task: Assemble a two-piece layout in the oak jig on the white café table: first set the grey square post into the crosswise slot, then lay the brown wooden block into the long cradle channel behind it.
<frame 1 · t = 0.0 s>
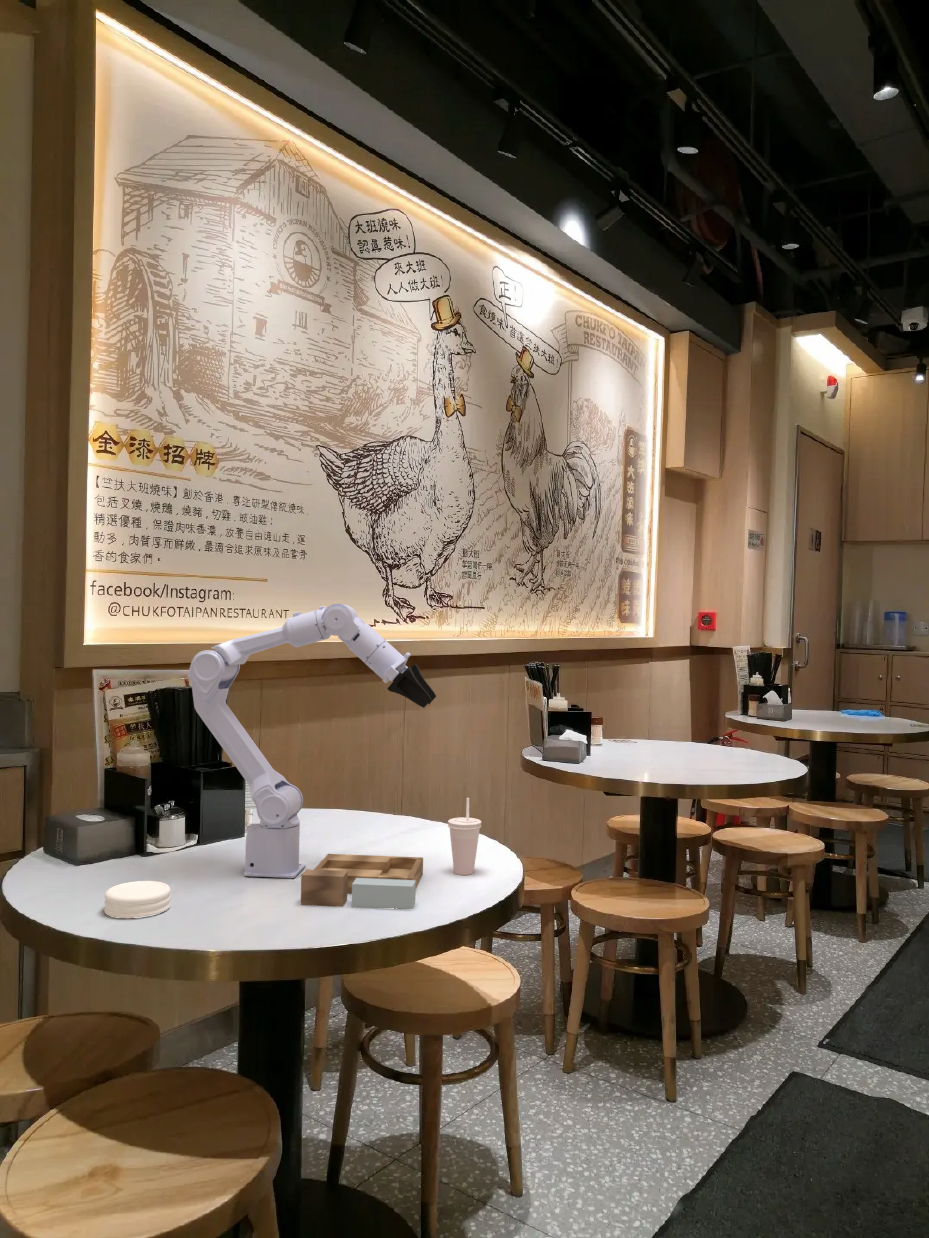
hand: (430, 701, 162), 32 cm above the table, tool tilted 50°, fingers open, 7 cm apart
brown wooden block: (324, 903, 147), on the table
grey square post: (383, 906, 146), on the table
smoothie: (463, 873, 166), on the table
jig: (368, 882, 159), on the table
coaster: (137, 911, 142), on the table
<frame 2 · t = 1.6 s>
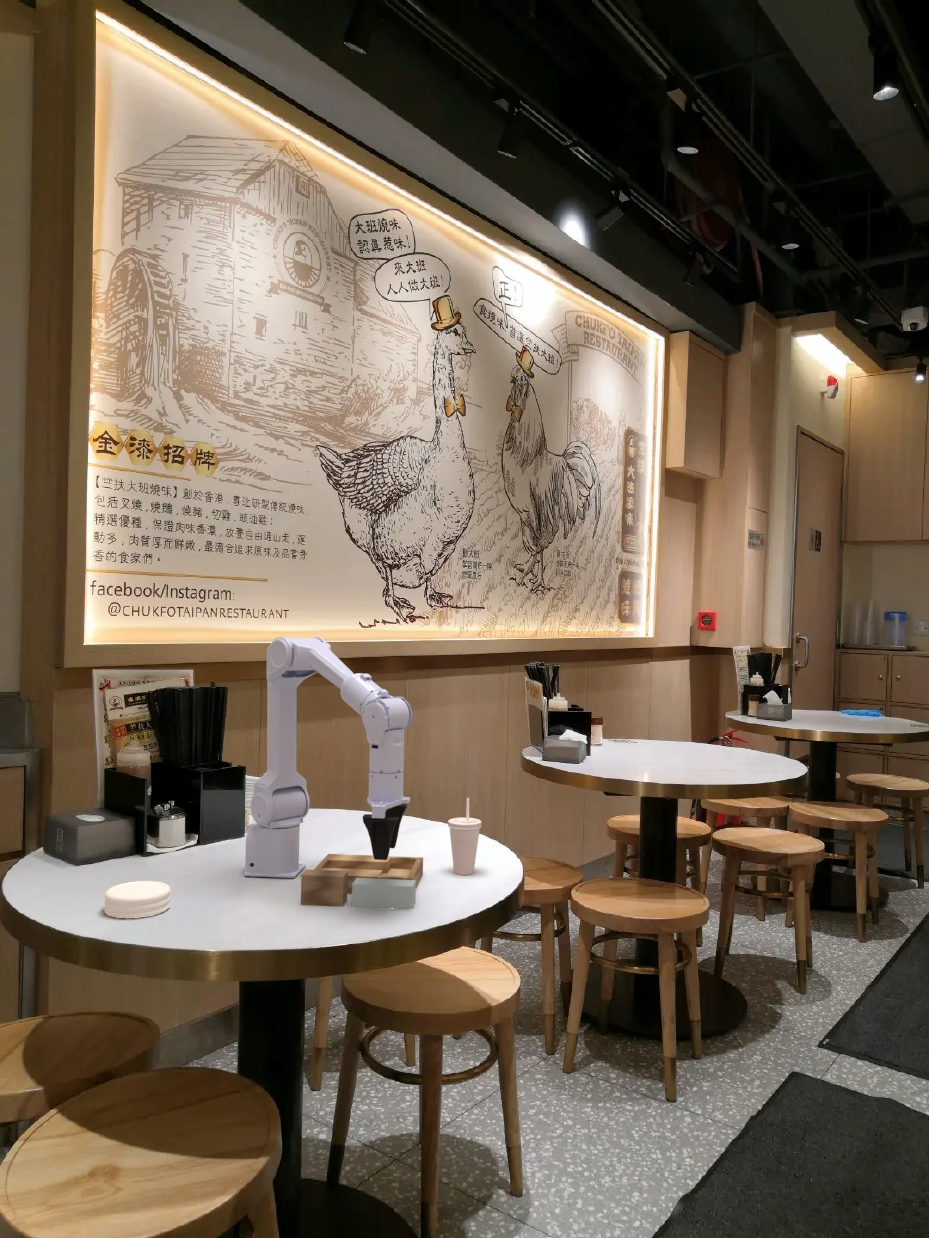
hand: (384, 853, 146), 8 cm above the table, tool pointing down, fingers open, 7 cm apart
nothing on the table moved.
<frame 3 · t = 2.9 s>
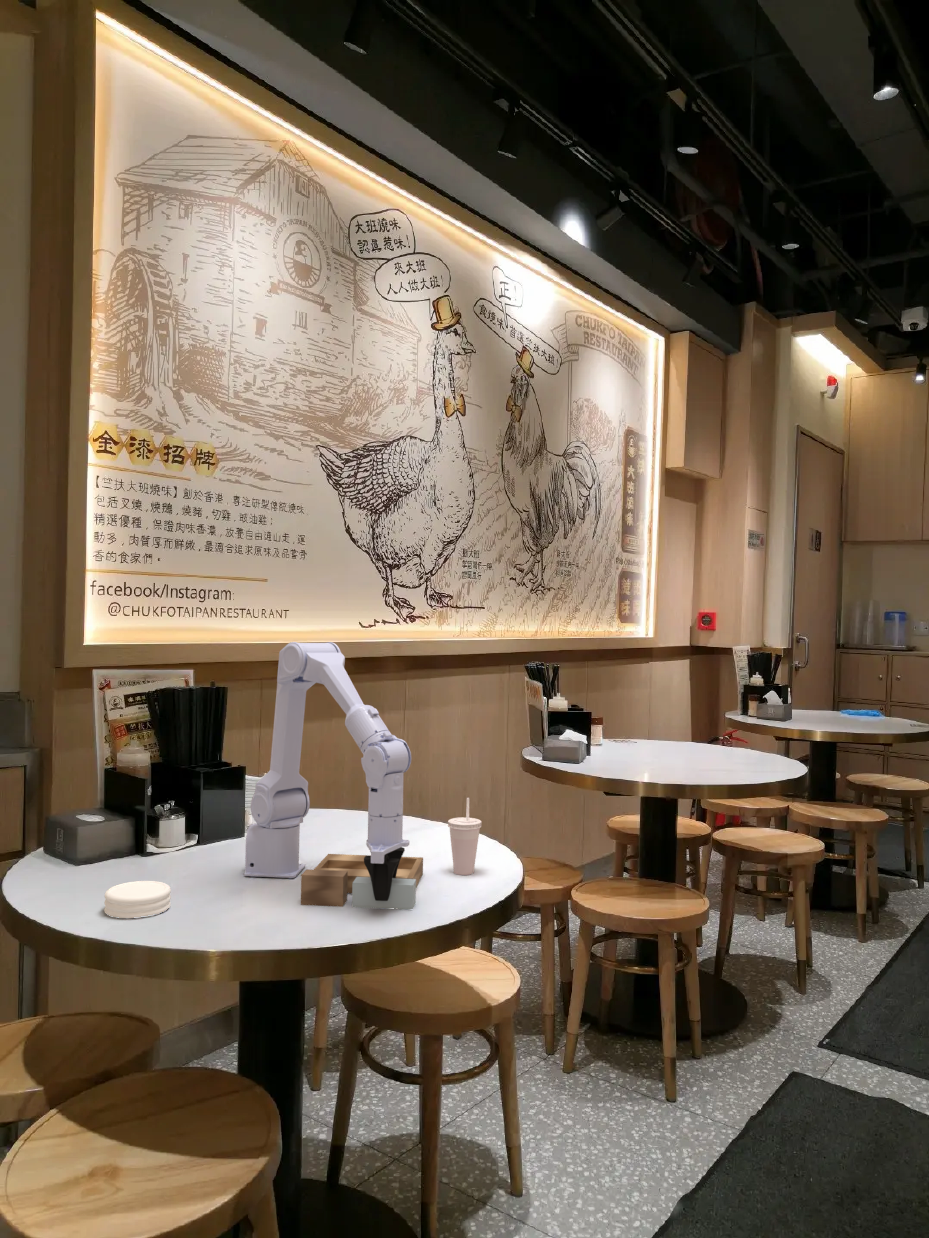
hand: (383, 896, 146), 1 cm above the table, tool pointing down, fingers closed on grey square post, 4 cm apart
grey square post: (384, 905, 146), on the table, touching gripper
everything else where it was.
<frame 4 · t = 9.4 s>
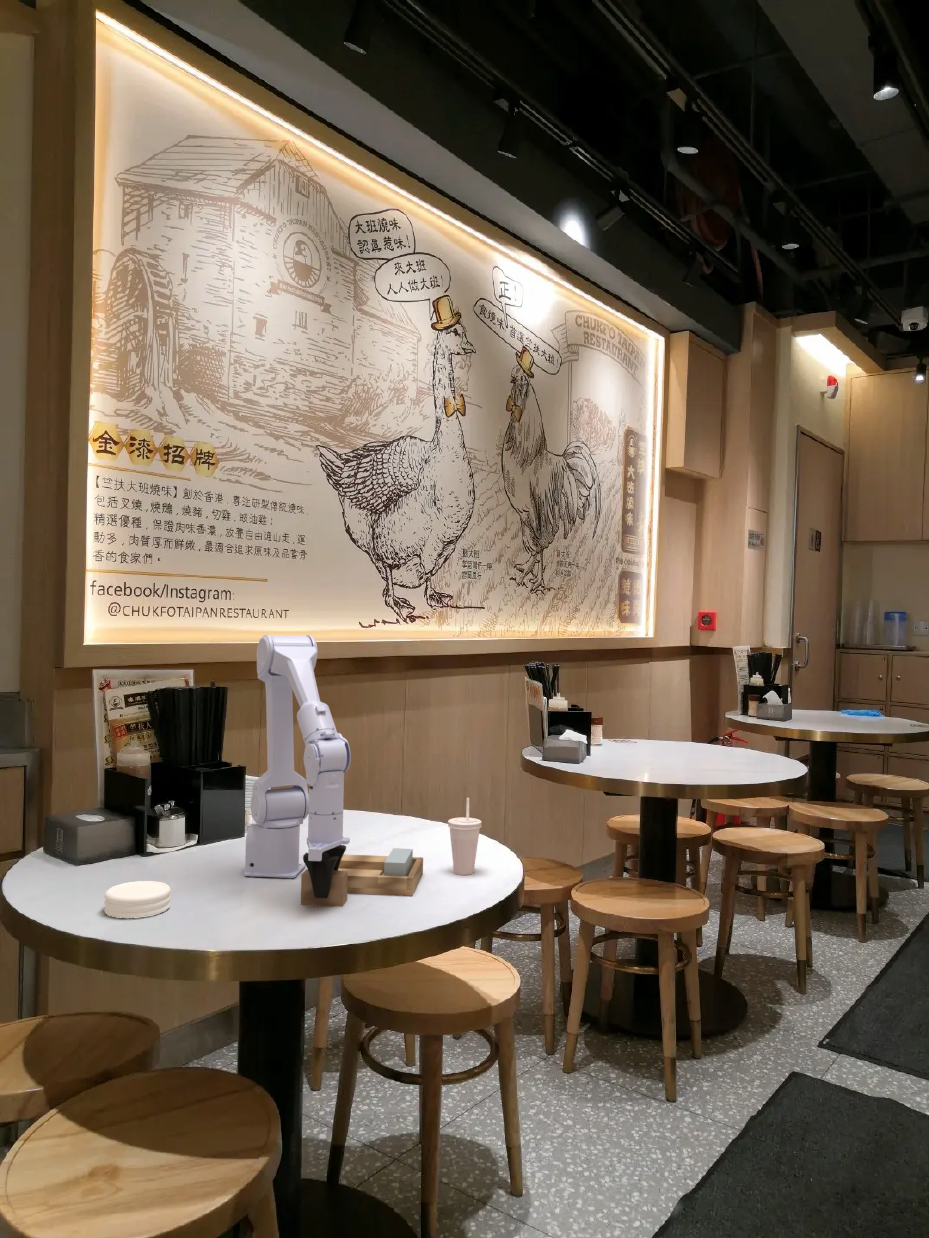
hand: (324, 893, 147), 1 cm above the table, tool pointing down, fingers closed on brown wooden block, 3 cm apart
brown wooden block: (324, 902, 147), on the table, touching gripper
grey square post: (398, 877, 158), point 1 cm above the table, touching jig
everything else where it was.
when the fingers open (4 cm above the table, at t = 12.8 s): brown wooden block stays where it is, resting on jig.
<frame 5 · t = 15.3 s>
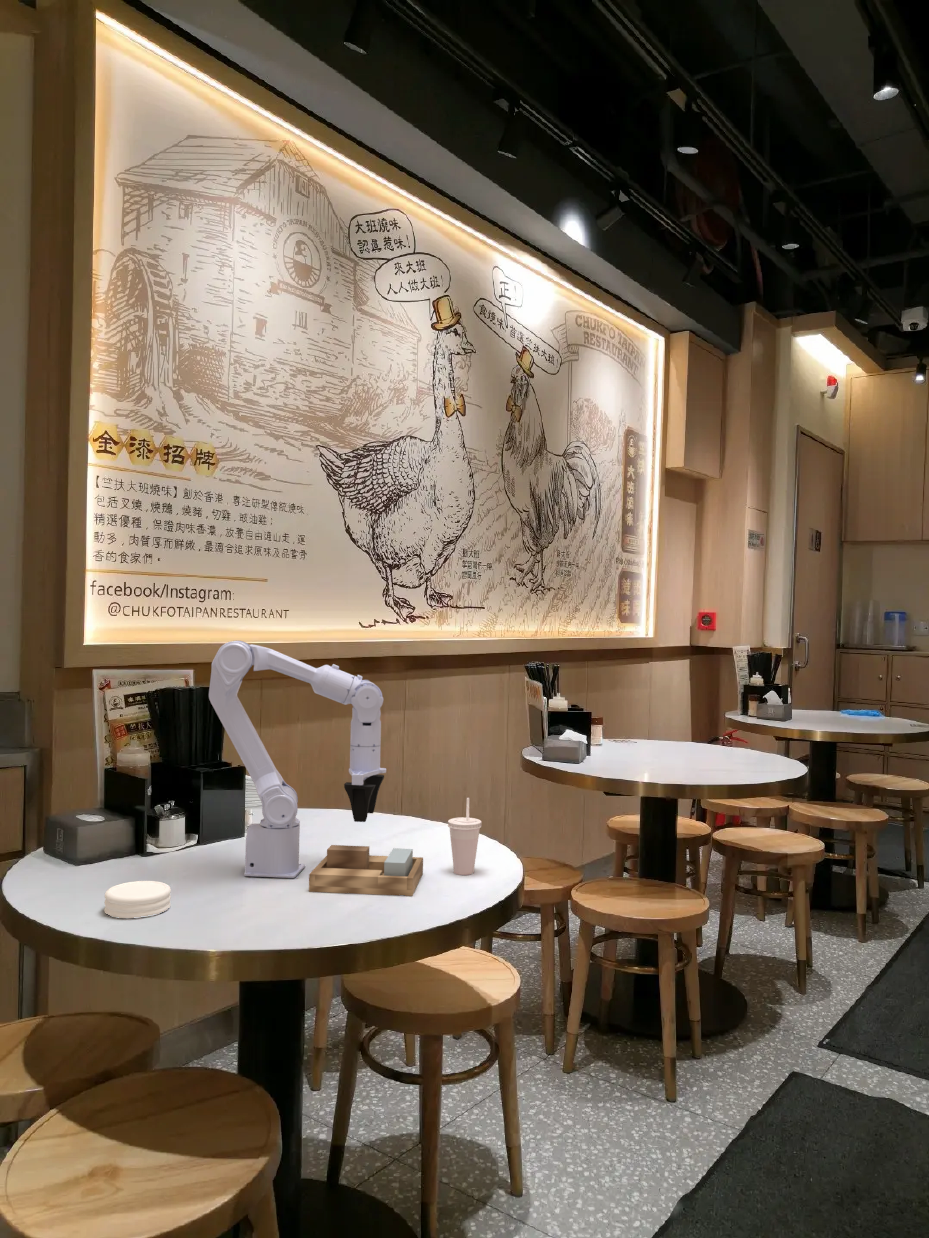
hand: (364, 817, 167), 10 cm above the table, tool pointing down, fingers open, 7 cm apart
brown wooden block: (347, 875, 159), point 1 cm above the table, touching jig
everything else where it was.
at the end: brown wooden block 0.2 cm from the target spot on the jig, point 1.0 cm above the jig's base; grey square post 0.1 cm from the target spot on the jig, point 1.0 cm above the jig's base; grey square post tilted 0° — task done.
